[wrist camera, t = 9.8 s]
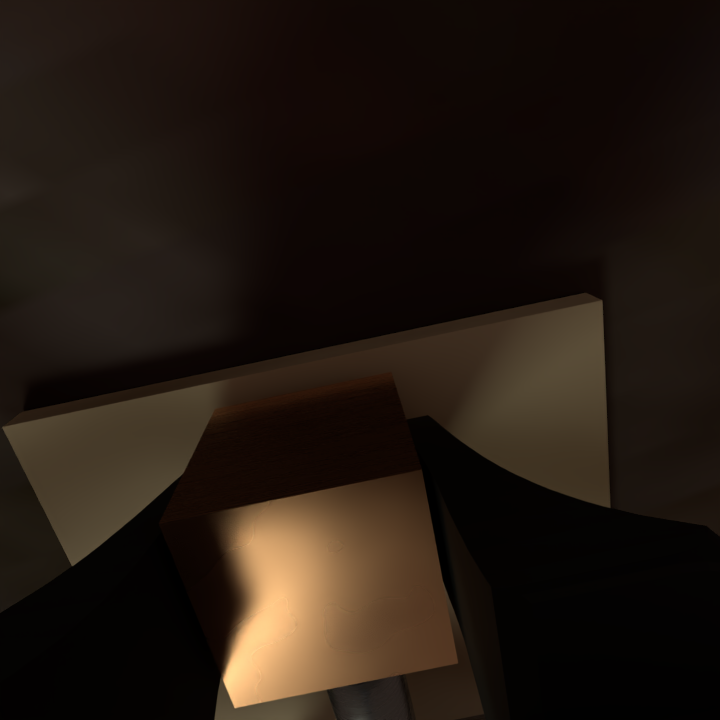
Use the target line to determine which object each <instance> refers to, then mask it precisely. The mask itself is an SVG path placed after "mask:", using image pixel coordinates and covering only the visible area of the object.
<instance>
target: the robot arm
mask: <svg viewBox="0 0 720 720" xmlns="http://www.w3.org/2000/svg"><path fill="white" fill-rule="evenodd" d="M406 420H407V423H408V427H409V430H410V433H411V436H412V439H413V443H414V446H415V449H416V452H417V455H418V458H419V462H420V465H421V468H422V472H423V478H424V483H425V488H426V494H427V499H428V504H429V510H430V515H431V520H432V526H433V531H434V536H435V542H436V547H437V553H438V558H439V563H440V569H441V574H442V579H443V583H444V586H445V588H446V591H447V594H448V596H449V599H450V602H451V604H452V607H453V610H454V612H455V615H456V618H457V620H458V623H459V626H460V629H461V632H462V635H463V638H464V642H465V645H466V649H467V652H468V656H469V660H470V663H471V667H472V671H473V674H474V678H475V682H476V685H477V689H478V693H479V696H480V700H481V704H482V708H483V711H484V715H485V719H486V720H720V537H719V536H718V535H717V534H716V533H714V532H713V531H712V530H711V529H709V528H708V527H707V526H703V525H697V524H691V523H685V522H679V521H672V520H666V519H660V518H654V517H648V516H642V515H638V514H633V513H629V512H625V511H621V510H617V509H612V508H608V507H604V506H600V505H597V504H593V503H590V502H586V501H583V500H580V499H577V498H574V497H571V496H568V495H565V494H562V493H559V492H556V491H553V490H551V489H548V488H546V487H543V486H541V485H538V484H536V483H534V482H531V481H529V480H527V479H525V478H523V477H520V476H518V475H516V474H514V473H512V472H510V471H508V470H506V469H504V468H502V467H500V466H499V465H497V464H495V463H493V462H492V461H490V460H488V459H487V458H485V457H483V456H482V455H480V454H479V453H477V452H476V451H474V450H473V449H472V448H470V447H469V446H467V445H466V444H464V443H463V442H462V441H460V440H459V439H458V438H456V437H455V436H454V435H452V434H451V433H450V432H449V431H447V430H446V429H445V428H444V427H442V426H441V425H440V424H439V423H438V422H437V421H435V420H434V419H433V418H431V417H430V416H429V415H426V416H421V417H416V418H411V419H406ZM182 475H183V474H182ZM182 475H181V476H180V477H179V478H178V479H176V480H175V481H174V482H173V483H172V484H171V485H170V486H169V487H167V488H166V489H165V490H164V491H163V492H162V493H161V494H160V495H159V496H157V497H156V498H155V499H154V500H153V501H152V502H151V503H150V504H148V505H147V506H146V507H145V508H144V509H143V510H142V511H141V512H139V513H138V514H137V515H136V516H135V517H134V518H132V519H131V520H130V521H129V522H128V523H126V524H125V525H124V526H123V527H122V528H120V529H119V530H118V531H117V532H116V533H114V534H113V535H112V536H111V537H110V538H108V539H107V540H106V541H105V542H104V543H102V544H101V545H100V546H99V547H97V548H96V549H95V550H94V551H92V552H91V553H90V554H88V555H87V556H86V557H84V558H83V559H82V560H80V561H79V562H78V563H76V564H75V565H73V566H72V567H71V568H69V569H68V570H66V571H65V572H63V573H62V574H61V575H59V576H58V577H56V578H55V579H54V580H52V581H51V582H49V583H48V584H46V585H45V586H43V587H42V588H40V589H38V590H37V591H35V592H34V593H32V594H30V595H29V596H27V597H25V598H24V599H22V600H21V601H19V602H17V603H16V604H14V605H13V606H11V607H9V608H8V609H6V610H5V611H3V612H1V613H0V720H215V712H216V704H217V696H218V690H219V685H220V680H221V674H220V671H219V669H218V667H217V664H216V662H215V659H214V657H213V655H212V652H211V650H210V647H209V645H208V642H207V640H206V638H205V635H204V633H203V630H202V628H201V626H200V623H199V621H198V618H197V616H196V613H195V611H194V609H193V606H192V604H191V601H190V599H189V597H188V594H187V592H186V589H185V587H184V584H183V582H182V580H181V577H180V575H179V572H178V570H177V568H176V565H175V563H174V560H173V558H172V555H171V553H170V551H169V548H168V546H167V543H166V541H165V539H164V536H163V534H162V531H161V529H160V527H159V522H160V520H161V518H162V516H163V514H164V512H165V510H166V508H167V506H168V504H169V502H170V500H171V497H172V495H173V493H174V491H175V489H176V487H177V485H178V483H179V481H180V479H181V477H182Z"/></svg>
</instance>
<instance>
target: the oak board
mask: <svg viewBox="0 0 720 720" xmlns="http://www.w3.org/2000/svg"><path fill="white" fill-rule="evenodd" d="M388 372H392V376H393V379H394V382H395V385H396V388H397V392H398V395H399V398H400V401H401V404H402V407H403V411H404V414H405V417H406V419H411V418H416V417H421V416H426V415H429V416H430V417H431V418H433V419H434V420H435V421H437V422H438V423H439V424H440V425H441V426H442V427H444V428H445V429H446V430H447V431H449V432H450V433H451V434H452V435H454V436H455V437H456V438H458V439H459V440H460V441H462V442H463V443H464V444H466V445H467V446H469V447H470V448H472V449H473V450H474V451H476V452H477V453H479V454H480V455H482V456H483V457H485V458H487V459H488V460H490V461H492V462H493V463H495V464H497V465H499V466H500V467H502V468H504V469H506V470H508V471H510V472H512V473H514V474H516V475H518V476H520V477H523V478H525V479H527V480H529V481H531V482H534V483H536V484H538V485H541V486H543V487H546V488H548V489H551V490H553V491H556V492H559V493H562V494H565V495H568V496H571V497H574V498H577V499H580V500H583V501H586V502H590V503H593V504H597V505H600V506H604V507H608V508H610V484H609V458H608V432H607V406H606V380H605V354H604V328H603V303H602V300H601V299H599V298H596V297H594V296H592V295H590V294H588V293H582V294H577V295H572V296H568V297H563V298H558V299H553V300H549V301H544V302H539V303H534V304H530V305H525V306H520V307H516V308H511V309H506V310H501V311H497V312H492V313H487V314H483V315H478V316H473V317H468V318H464V319H459V320H454V321H449V322H445V323H440V324H435V325H431V326H426V327H421V328H416V329H412V330H407V331H402V332H397V333H393V334H388V335H383V336H379V337H374V338H369V339H364V340H360V341H355V342H350V343H345V344H341V345H336V346H331V347H327V348H322V349H317V350H312V351H308V352H303V353H298V354H294V355H289V356H284V357H279V358H275V359H270V360H265V361H260V362H256V363H251V364H246V365H242V366H237V367H232V368H227V369H223V370H218V371H213V372H208V373H204V374H199V375H194V376H190V377H185V378H180V379H175V380H171V381H166V382H161V383H157V384H152V385H147V386H142V387H138V388H133V389H128V390H123V391H119V392H114V393H109V394H105V395H100V396H95V397H90V398H86V399H81V400H76V401H71V402H67V403H62V404H57V405H53V406H48V407H43V408H38V409H34V410H29V411H24V412H21V413H20V414H19V415H17V416H16V417H15V418H13V419H12V420H11V421H10V422H8V423H7V424H6V425H4V426H3V427H2V428H3V430H4V432H5V434H6V436H7V437H8V439H9V441H10V443H11V445H12V447H13V449H14V451H15V453H16V455H17V457H18V459H19V461H20V463H21V465H22V467H23V469H24V471H25V473H26V475H27V477H28V479H29V481H30V483H31V485H32V487H33V489H34V491H35V493H36V495H37V497H38V499H39V501H40V503H41V505H42V507H43V509H44V511H45V513H46V515H47V517H48V519H49V521H50V523H51V525H52V527H53V529H54V531H55V533H56V535H57V537H58V539H59V541H60V543H61V545H62V547H63V549H64V551H65V553H66V555H67V557H68V559H69V561H70V563H71V565H72V566H73V565H75V564H76V563H78V562H79V561H80V560H82V559H83V558H84V557H86V556H87V555H88V554H90V553H91V552H92V551H94V550H95V549H96V548H97V547H99V546H100V545H101V544H102V543H104V542H105V541H106V540H107V539H108V538H110V537H111V536H112V535H113V534H114V533H116V532H117V531H118V530H119V529H120V528H122V527H123V526H124V525H125V524H126V523H128V522H129V521H130V520H131V519H132V518H134V517H135V516H136V515H137V514H138V513H139V512H141V511H142V510H143V509H144V508H145V507H146V506H147V505H148V504H150V503H151V502H152V501H153V500H154V499H155V498H156V497H157V496H159V495H160V494H161V493H162V492H163V491H164V490H165V489H166V488H167V487H169V486H170V485H171V484H172V483H173V482H174V481H175V480H176V479H178V478H179V477H180V476H181V475H182V474H183V473H184V471H185V469H186V467H187V465H188V463H189V461H190V459H191V457H192V455H193V453H194V451H195V449H196V447H197V445H198V443H199V440H200V438H201V436H202V434H203V432H204V430H205V428H206V426H207V424H208V422H209V420H210V418H211V416H212V414H213V412H214V410H215V409H217V408H222V407H226V406H231V405H236V404H241V403H245V402H250V401H255V400H260V399H264V398H269V397H274V396H279V395H283V394H288V393H293V392H298V391H302V390H307V389H312V388H317V387H321V386H326V385H331V384H336V383H340V382H345V381H350V380H355V379H359V378H364V377H369V376H374V375H378V374H383V373H388ZM443 585H444V583H443ZM444 590H445V595H446V601H447V606H448V611H449V617H450V622H451V627H452V633H453V638H454V643H455V649H456V654H457V659H458V663H457V664H452V665H447V666H442V667H437V668H432V669H427V670H422V671H417V672H412V673H407V674H405V675H406V679H407V683H408V688H409V692H410V696H411V700H412V704H413V708H414V713H415V717H416V720H456V719H461V718H466V717H471V716H476V715H481V714H484V711H483V708H482V704H481V700H480V696H479V693H478V689H477V685H476V682H475V678H474V674H473V671H472V667H471V663H470V660H469V656H468V652H467V649H466V645H465V642H464V638H463V635H462V632H461V629H460V626H459V623H458V620H457V618H456V615H455V612H454V610H453V607H452V604H451V602H450V599H449V596H448V594H447V591H446V588H445V586H444ZM215 720H336V718H335V715H334V712H333V708H332V705H331V702H330V699H329V696H328V693H327V690H322V691H317V692H312V693H307V694H302V695H297V696H292V697H287V698H282V699H277V700H272V701H267V702H262V703H257V704H252V705H248V706H243V707H238V708H234V705H233V703H232V700H231V698H230V696H229V693H228V691H227V688H226V686H225V684H224V681H223V679H222V676H221V680H220V685H219V690H218V696H217V704H216V712H215Z"/></svg>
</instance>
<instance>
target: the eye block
mask: <svg viewBox="0 0 720 720" xmlns="http://www.w3.org/2000/svg"><path fill="white" fill-rule="evenodd" d="M456 720H486V719H485V715H484V714H481V715H476V716H471V717H466V718H461V719H456Z"/></svg>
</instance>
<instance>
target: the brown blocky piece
mask: <svg viewBox="0 0 720 720" xmlns="http://www.w3.org/2000/svg"><path fill="white" fill-rule="evenodd" d="M159 527H160V529H161V531H162V534H163V536H164V539H165V541H166V543H167V546H168V548H169V551H170V553H171V555H172V558H173V560H174V563H175V565H176V568H177V570H178V572H179V575H180V577H181V580H182V582H183V584H184V587H185V589H186V592H187V594H188V597H189V599H190V601H191V604H192V606H193V609H194V611H195V613H196V616H197V618H198V621H199V623H200V626H201V628H202V630H203V633H204V635H205V638H206V640H207V642H208V645H209V647H210V650H211V652H212V655H213V657H214V659H215V662H216V664H217V667H218V669H219V671H220V674H221V676H222V679H223V681H224V684H225V686H226V688H227V691H228V693H229V696H230V698H231V700H232V703H233V705H234V708H238V707H243V706H248V705H252V704H257V703H262V702H267V701H272V700H277V699H282V698H287V697H292V696H297V695H302V694H307V693H312V692H317V691H322V690H327V693H328V696H329V699H330V702H331V705H332V708H333V712H334V715H335V718H336V720H416V717H415V713H414V708H413V704H412V700H411V696H410V692H409V688H408V683H407V679H406V675H405V674H407V673H412V672H417V671H422V670H427V669H432V668H437V667H442V666H447V665H452V664H457V663H458V659H457V654H456V649H455V643H454V638H453V633H452V627H451V622H450V617H449V611H448V606H447V601H446V595H445V590H444V585H443V579H442V574H441V569H440V563H439V558H438V553H437V547H436V542H435V536H434V531H433V526H432V520H431V515H430V510H429V504H428V499H427V494H426V488H425V483H424V478H423V472H422V468H421V465H420V462H419V458H418V455H417V452H416V449H415V446H414V443H413V439H412V436H411V433H410V430H409V427H408V423H407V420H406V417H405V414H404V411H403V407H402V404H401V401H400V398H399V395H398V392H397V388H396V385H395V382H394V379H393V376H392V372H388V373H383V374H378V375H374V376H369V377H364V378H359V379H355V380H350V381H345V382H340V383H336V384H331V385H326V386H321V387H317V388H312V389H307V390H302V391H298V392H293V393H288V394H283V395H279V396H274V397H269V398H264V399H260V400H255V401H250V402H245V403H241V404H236V405H231V406H226V407H222V408H217V409H215V410H214V412H213V414H212V416H211V418H210V420H209V422H208V424H207V426H206V428H205V430H204V432H203V434H202V436H201V438H200V440H199V443H198V445H197V447H196V449H195V451H194V453H193V455H192V457H191V459H190V461H189V463H188V465H187V467H186V469H185V471H184V473H183V475H182V477H181V479H180V481H179V483H178V485H177V487H176V489H175V491H174V493H173V495H172V497H171V500H170V502H169V504H168V506H167V508H166V510H165V512H164V514H163V516H162V518H161V520H160V522H159Z"/></svg>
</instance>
